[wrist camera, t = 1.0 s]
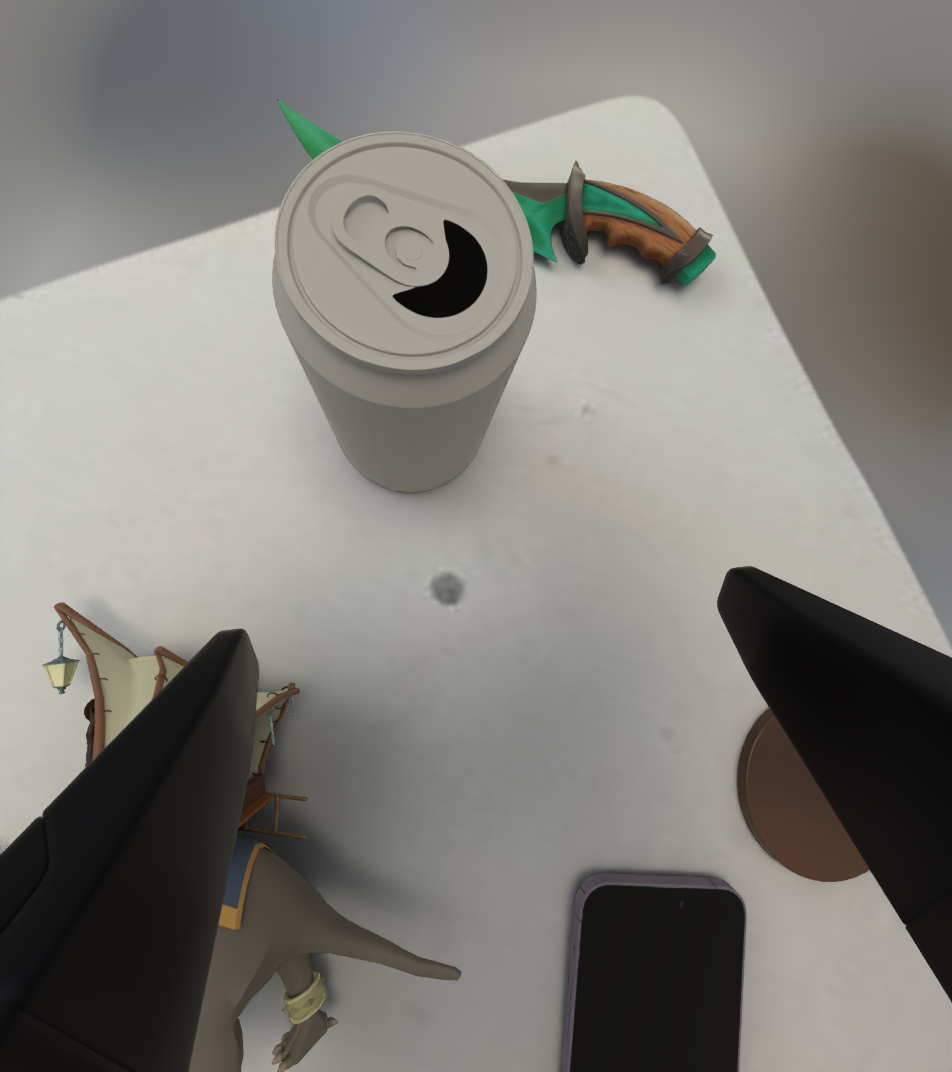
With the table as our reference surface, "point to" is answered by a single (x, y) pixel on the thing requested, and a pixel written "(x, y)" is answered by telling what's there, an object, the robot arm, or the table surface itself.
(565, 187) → the knife
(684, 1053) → the smartphone
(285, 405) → the table surface
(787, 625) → the robot arm
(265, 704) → the figurine
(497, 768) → the table surface
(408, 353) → the beverage can
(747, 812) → the coaster
